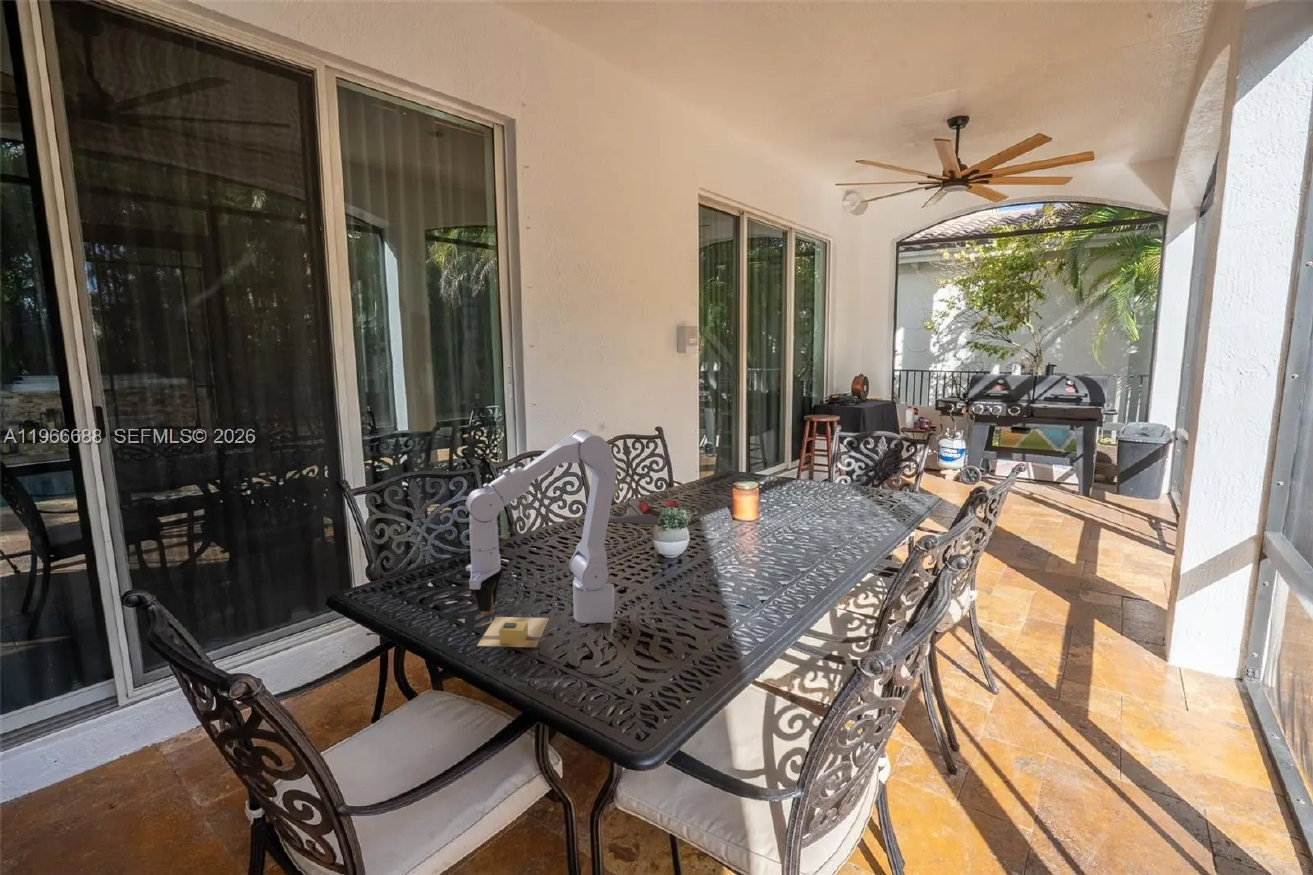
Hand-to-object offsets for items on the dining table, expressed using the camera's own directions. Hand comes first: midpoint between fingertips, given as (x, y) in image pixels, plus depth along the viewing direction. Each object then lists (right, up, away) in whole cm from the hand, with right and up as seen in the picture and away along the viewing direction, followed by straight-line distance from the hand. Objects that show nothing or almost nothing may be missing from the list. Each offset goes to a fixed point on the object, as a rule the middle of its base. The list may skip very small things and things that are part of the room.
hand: (487, 607), depth 130 cm
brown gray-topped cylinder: (0, -1, 0) cm, 1 cm away
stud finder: (+6, -7, +1) cm, 9 cm away
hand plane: (+28, +6, +86) cm, 90 cm away
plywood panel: (+5, -8, +4) cm, 10 cm away
